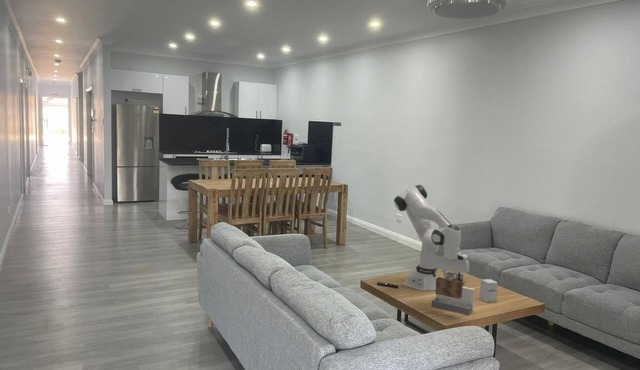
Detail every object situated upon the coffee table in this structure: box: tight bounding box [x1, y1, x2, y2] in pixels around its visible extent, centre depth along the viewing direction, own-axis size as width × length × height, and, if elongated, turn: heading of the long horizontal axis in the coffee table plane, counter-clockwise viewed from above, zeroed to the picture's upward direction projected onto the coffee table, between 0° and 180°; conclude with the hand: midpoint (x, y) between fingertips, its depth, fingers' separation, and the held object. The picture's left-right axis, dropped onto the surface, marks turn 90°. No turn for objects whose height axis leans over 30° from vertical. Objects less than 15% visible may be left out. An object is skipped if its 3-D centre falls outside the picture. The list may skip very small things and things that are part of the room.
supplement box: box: [479, 278, 499, 303], centre depth 291 cm, size 7×7×13 cm
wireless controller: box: [453, 272, 464, 283], centre depth 327 cm, size 20×14×17 cm
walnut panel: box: [435, 271, 464, 299], centre depth 264 cm, size 14×4×13 cm, turn 58°
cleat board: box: [431, 286, 476, 316], centre depth 275 cm, size 22×9×13 cm, turn 58°
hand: (449, 278), depth 264 cm, fingers closed on walnut panel, 3 cm apart
